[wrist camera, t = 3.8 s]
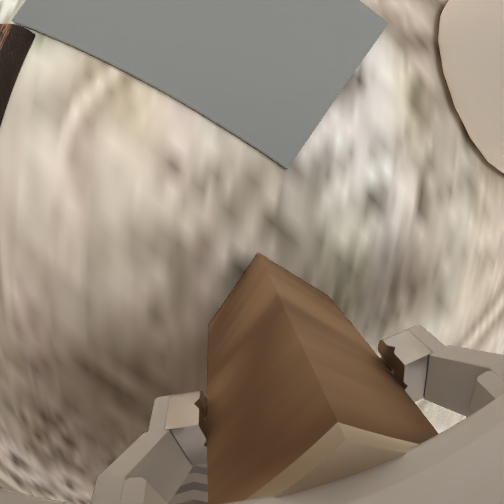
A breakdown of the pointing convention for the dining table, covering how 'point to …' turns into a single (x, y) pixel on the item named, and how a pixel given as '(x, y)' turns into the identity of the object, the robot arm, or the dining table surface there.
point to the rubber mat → (226, 56)
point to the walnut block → (296, 393)
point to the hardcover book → (11, 58)
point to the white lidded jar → (476, 70)
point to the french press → (193, 487)
